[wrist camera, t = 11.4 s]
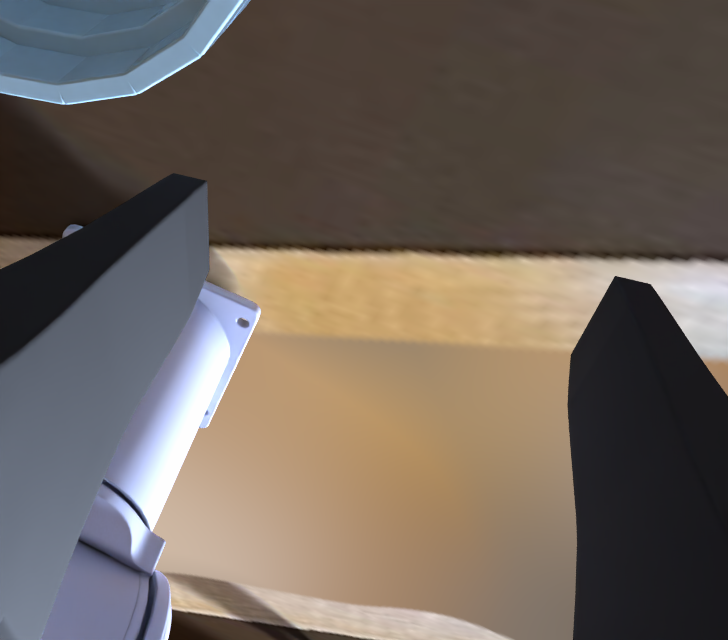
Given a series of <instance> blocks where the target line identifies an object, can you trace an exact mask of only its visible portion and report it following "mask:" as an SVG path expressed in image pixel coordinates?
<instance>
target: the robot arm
mask: <svg viewBox="0 0 728 640" xmlns="http://www.w3.org/2000/svg"><path fill="white" fill-rule="evenodd" d="M208 272H209V234H208V198H207V181H205V180H200V179H196V178H192V177H187V176H183V175H179V174H175V173H173V174H171V175H169V176H167V177H166V178H164V179H162V180H161V181H159V182H157V183H156V184H154V185H152V186H151V187H149V188H148V189H146V190H144V191H143V192H141V193H139V194H138V195H136V196H135V197H133V198H131V199H130V200H128V201H127V202H125V203H123V204H122V205H120V206H118V207H117V208H115V209H113V210H112V211H110V212H108V213H107V214H105V215H103V216H101V217H100V218H98V219H96V220H95V221H93V222H91V223H90V224H88V225H86V226H85V227H82V226H79V225H76V224H74V225H70V226H68V227H67V228H66V229H65V231H64V232H63V236H62V239H60V240H58V241H57V242H55V243H53V244H51V245H49V246H47V247H45V248H43V249H41V250H39V251H38V252H36V253H34V254H32V255H30V256H28V257H26V258H24V259H22V260H19V261H17V262H15V263H13V264H11V265H9V266H6V267H4V268H2V269H0V640H168V637H169V633H170V627H171V618H172V610H171V602H170V600H171V596H170V586H169V583H168V580H167V578H166V577H165V576H164V574H163V573H162V572H160V571H157V570H155V567H156V565H157V563H158V560H159V558H160V556H161V553H162V551H163V548H164V546H165V544H166V542H165V540H164V539H162V538H160V537H159V536H157V535H156V534H154V533H153V532H152V531H153V529H154V526H155V524H156V522H157V520H158V517H159V515H160V513H161V511H162V508H163V506H164V504H165V502H166V500H167V497H168V495H169V493H170V491H171V488H172V486H173V484H174V481H175V479H176V477H177V475H178V473H179V470H180V468H181V466H182V464H183V461H184V459H185V457H186V455H187V452H188V450H189V448H190V446H191V443H192V441H193V439H194V437H195V434H196V432H197V430H198V428H205V427H207V426H208V425H209V423H210V420H211V419H212V416H213V414H214V412H215V410H216V408H217V406H218V403H219V401H220V399H221V397H222V395H223V393H224V391H225V389H226V387H227V385H228V382H229V380H230V378H231V376H232V374H233V372H234V369H235V368H236V365H237V363H238V361H239V359H240V357H241V355H242V353H243V350H244V348H245V346H246V344H247V342H248V340H249V338H250V336H251V334H252V331H253V329H254V327H255V325H256V323H257V321H258V319H259V316H260V313H261V310H260V307H259V306H258V305H257V304H256V303H254V302H253V301H250V300H248V299H246V298H244V297H241V296H239V295H237V294H235V293H232V292H230V291H228V290H225V289H223V288H221V287H219V286H216V285H214V284H212V283H209V282H207V281H205V280H206V277H207V274H208ZM242 318H244V319H246V320H247V321H246V320H243V319H242ZM568 419H569V432H570V446H571V458H572V471H573V483H574V495H575V508H576V524H577V562H576V595H575V612H574V631H573V640H728V396H727V395H726V393H725V392H724V391H723V389H722V388H721V386H720V385H719V384H718V382H717V381H716V379H715V378H714V377H713V375H712V374H711V373H710V371H709V370H708V368H707V367H706V365H705V364H704V362H703V361H702V360H701V358H700V357H699V355H698V354H697V352H696V351H695V349H694V348H693V346H692V345H691V343H690V342H689V340H688V339H687V337H686V336H685V334H684V333H683V331H682V330H681V328H680V327H679V325H678V324H677V322H676V321H675V319H674V318H673V316H672V315H671V313H670V312H669V310H668V309H667V307H666V306H665V304H664V303H663V301H662V300H661V298H660V297H659V295H658V294H657V292H656V291H655V290H654V288H653V287H652V286H651V284H648V283H643V282H639V281H635V280H630V279H626V278H622V277H617V276H615V277H614V279H613V281H612V282H611V284H610V286H609V288H608V290H607V291H606V293H605V295H604V297H603V299H602V300H601V302H600V304H599V306H598V307H597V309H596V311H595V313H594V315H593V316H592V318H591V320H590V322H589V323H588V325H587V327H586V329H585V331H584V332H583V334H582V336H581V338H580V339H579V341H578V343H577V345H576V347H575V348H574V350H573V352H572V354H571V360H570V374H569V387H568Z"/></svg>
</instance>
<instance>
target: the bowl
mask: <svg viewBox="0 0 728 640" xmlns="http://www.w3.org/2000/svg"><path fill="white" fill-rule="evenodd" d="M249 2H250V0H0V93H4V94H9V95H14V96H20V97H25V98H31V99H36V100H41V101H47V102H52V103H57V104H67V105H68V104H75V103H82V102H89V101H96V100H103V99H110V98H118V97H125V96H132V95H136V94H139V93H142V92H144V91H145V90H147V89H149V88H150V87H152V86H154V85H155V84H157V83H159V82H160V81H162V80H164V79H166V78H167V77H169V76H171V75H172V74H174V73H176V72H177V71H179V70H181V69H182V68H184V67H186V66H187V65H189V64H191V63H192V62H194V61H196V60H197V59H199V58H200V57H201V56H202V55H204V54H205V53H206V51H207V50H208V49H209V48H210V47H211V46H212V45H213V43H214V42H215V41H216V40H217V39H218V38H219V37H220V35H221V34H222V33H223V32H224V31H225V30H226V28H227V27H228V26H229V25H230V24H231V23H232V22H233V21H234V19H235V18H236V17H237V16H238V15H239V14H240V13H241V11H242V10H243V9H244V8H245V7H246V6H247V4H248V3H249Z"/></svg>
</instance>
